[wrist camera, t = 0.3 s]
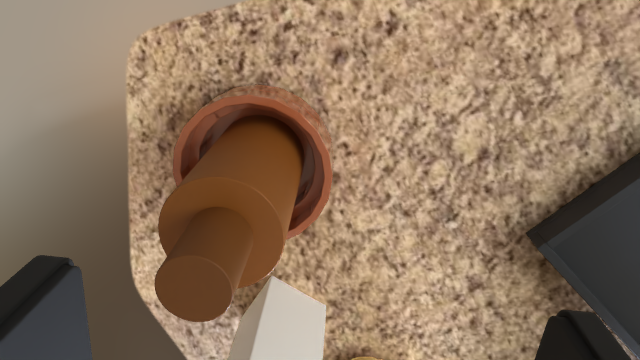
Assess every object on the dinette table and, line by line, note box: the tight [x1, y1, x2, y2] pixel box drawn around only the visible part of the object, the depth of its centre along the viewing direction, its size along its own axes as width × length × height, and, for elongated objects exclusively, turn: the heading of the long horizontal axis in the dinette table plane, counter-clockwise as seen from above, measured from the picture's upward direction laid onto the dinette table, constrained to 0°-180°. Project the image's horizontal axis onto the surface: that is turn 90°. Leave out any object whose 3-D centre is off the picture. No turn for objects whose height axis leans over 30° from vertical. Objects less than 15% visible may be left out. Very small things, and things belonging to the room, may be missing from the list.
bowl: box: [173, 84, 334, 239], centre depth 36 cm, size 12×12×4 cm
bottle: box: [155, 115, 304, 322], centre depth 29 cm, size 7×7×18 cm
